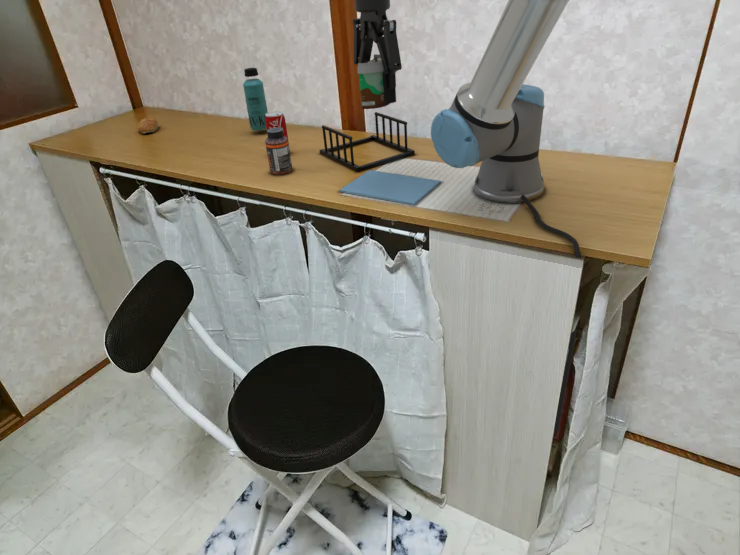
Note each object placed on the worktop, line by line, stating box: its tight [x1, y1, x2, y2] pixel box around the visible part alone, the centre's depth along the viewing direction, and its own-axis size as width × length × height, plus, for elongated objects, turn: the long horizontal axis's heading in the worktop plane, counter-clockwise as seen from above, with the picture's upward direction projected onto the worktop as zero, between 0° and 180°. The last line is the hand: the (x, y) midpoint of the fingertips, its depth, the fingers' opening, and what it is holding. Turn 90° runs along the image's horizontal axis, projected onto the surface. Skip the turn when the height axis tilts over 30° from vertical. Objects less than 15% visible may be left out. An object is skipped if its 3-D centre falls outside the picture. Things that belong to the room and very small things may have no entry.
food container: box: [357, 53, 390, 110], centre depth 121 cm, size 12×6×10 cm, turn 162°
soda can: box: [265, 110, 291, 151], centre depth 150 cm, size 6×6×12 cm
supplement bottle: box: [264, 128, 293, 176], centre depth 138 cm, size 6×6×11 cm
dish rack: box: [319, 111, 416, 173], centre depth 146 cm, size 20×19×8 cm
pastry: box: [137, 116, 159, 135], centre depth 184 cm, size 9×7×4 cm
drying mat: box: [339, 169, 441, 206], centre depth 127 cm, size 20×14×1 cm
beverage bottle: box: [242, 67, 269, 132], centre depth 168 cm, size 6×7×20 cm
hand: (379, 99), depth 123 cm, fingers closed on food container, 9 cm apart
